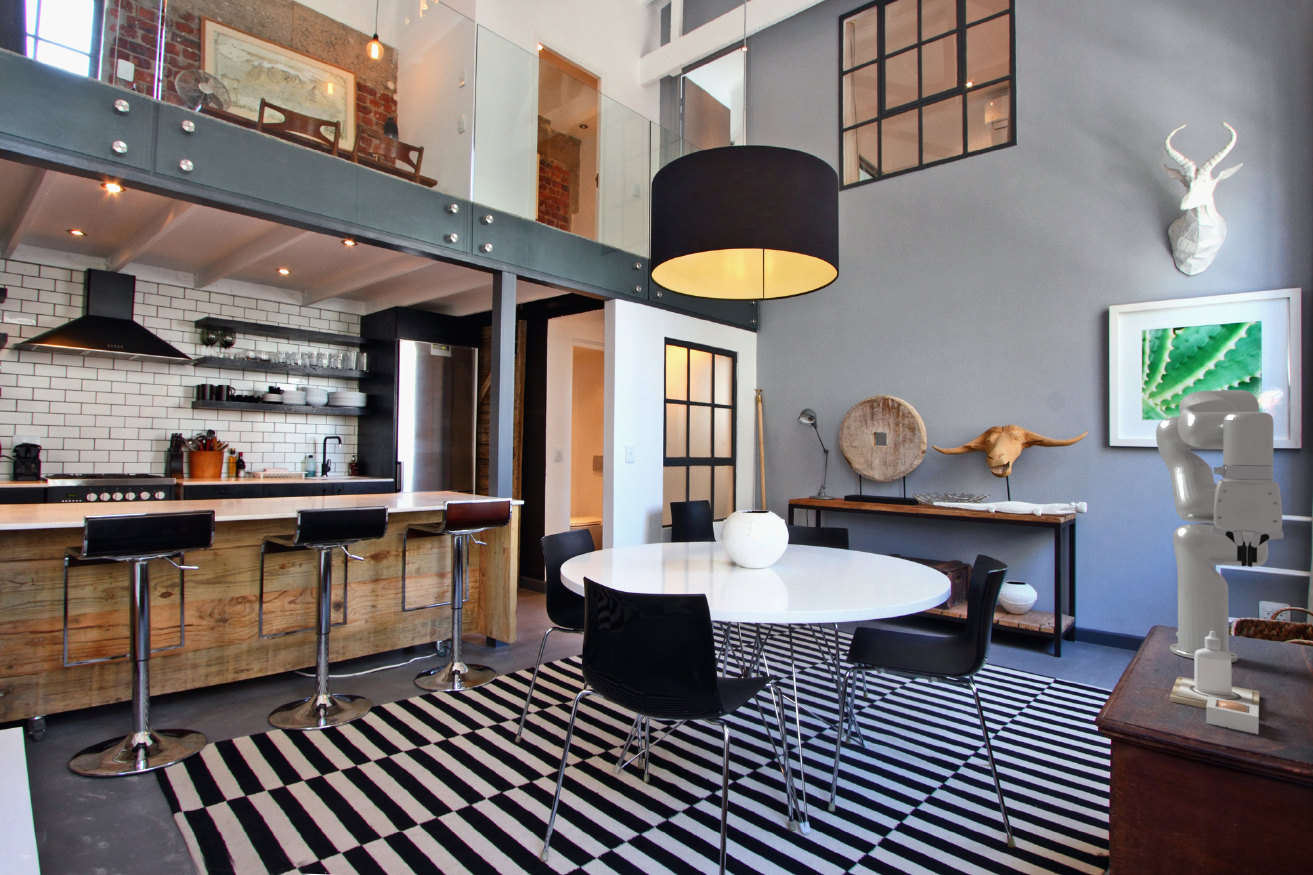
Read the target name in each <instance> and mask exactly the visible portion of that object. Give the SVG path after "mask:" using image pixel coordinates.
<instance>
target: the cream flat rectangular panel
mask: <svg viewBox="0 0 1313 875" xmlns="http://www.w3.org/2000/svg"><path fill="white" fill-rule="evenodd" d="M1209 696H1210V697H1215V698H1221V699H1226V700H1231V701H1236V702H1241V703H1246V704H1251V705H1256V706H1259V707H1260V691H1259V690H1254V689H1249V688H1245V687H1244V688H1243V687H1239V686H1232V693H1231V694H1230V695H1218V694H1210V693H1205V692H1201V691H1198V690H1197V689H1196V688H1195V682H1194V678H1189V677H1183V676H1177V677H1176V680H1175V681H1174V685H1173V687H1172V690H1171V692H1170V695H1169V702H1172V703H1177V704H1181V705H1187V706H1193V707H1196V708H1201V709H1206V705H1207V701H1208V697H1209Z"/></svg>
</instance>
